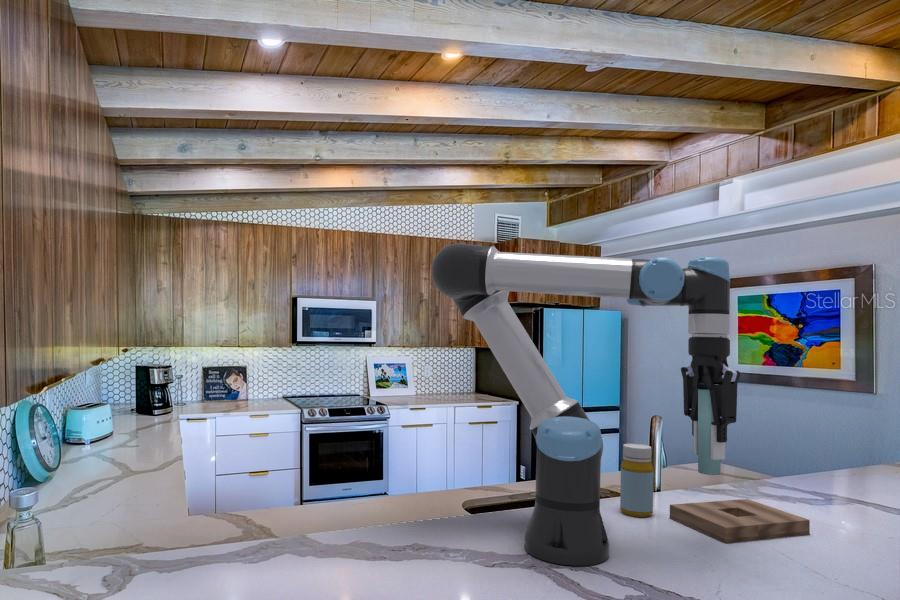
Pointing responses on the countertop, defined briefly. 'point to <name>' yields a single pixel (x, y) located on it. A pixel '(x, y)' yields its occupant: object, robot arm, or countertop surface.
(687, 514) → the bore block
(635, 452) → the bottle
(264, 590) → the countertop surface
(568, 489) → the robot arm
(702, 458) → the pin
